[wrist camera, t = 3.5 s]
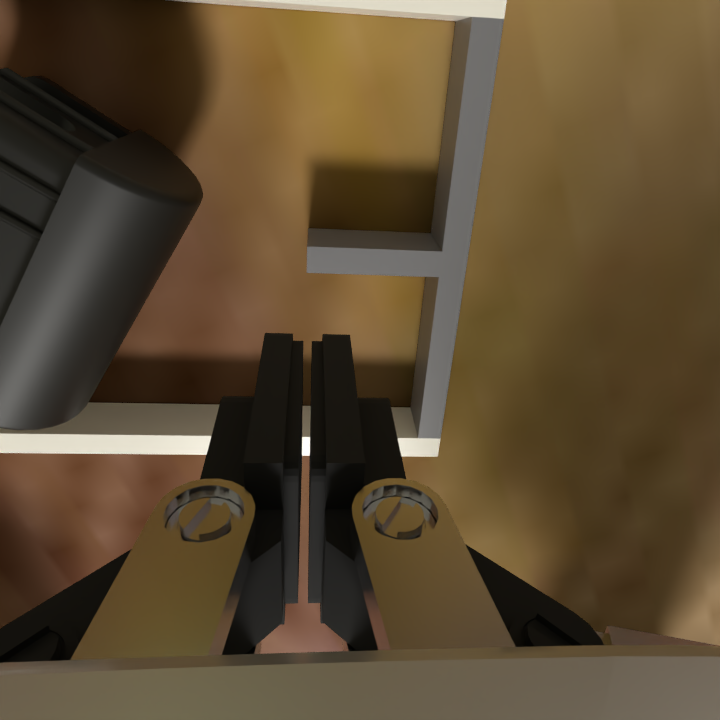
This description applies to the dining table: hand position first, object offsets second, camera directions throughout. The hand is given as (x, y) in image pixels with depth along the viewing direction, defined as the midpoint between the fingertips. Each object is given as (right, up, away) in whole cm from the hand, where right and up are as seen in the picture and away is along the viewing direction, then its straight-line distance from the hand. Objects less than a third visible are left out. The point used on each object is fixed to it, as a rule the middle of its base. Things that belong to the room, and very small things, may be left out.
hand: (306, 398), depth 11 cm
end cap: (-10, +6, +11) cm, 16 cm away
